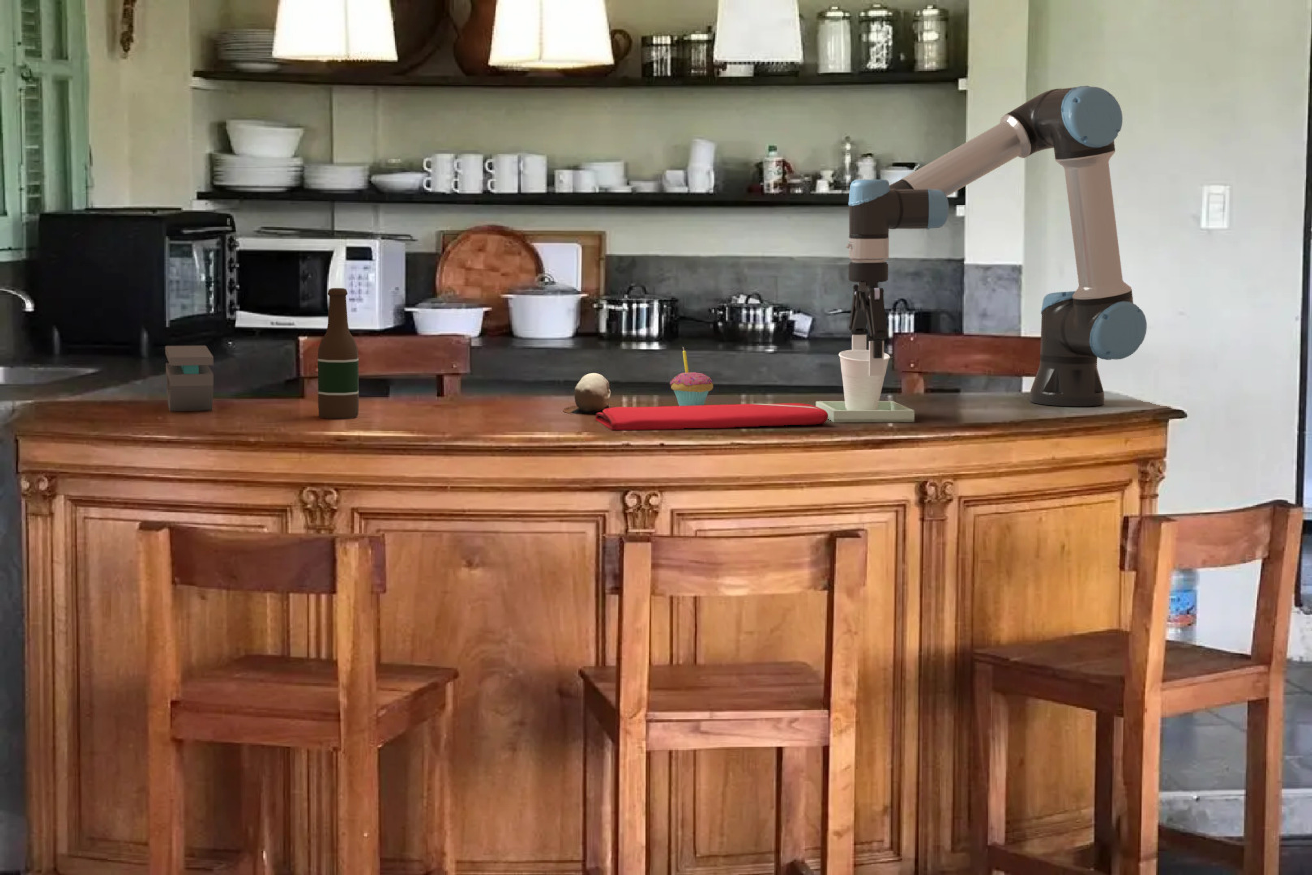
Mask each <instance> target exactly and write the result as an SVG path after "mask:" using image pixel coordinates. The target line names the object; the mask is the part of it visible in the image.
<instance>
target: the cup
mask: <svg viewBox="0 0 1312 875" xmlns="http://www.w3.org/2000/svg"><path fill="white" fill-rule="evenodd" d="M838 357H839V360H840V372H841V377H842V378H841V379H842V386H843V395H844V398H843V399H844V401H845V408H846V409H847V410H877V408H878V404H879V401H880V399H881V393H882V389H883V385H884V380H885V376H886V372H887V370H888V364H889V360H890V359H891V356H890V354H888V353H886V352H884V375H883V376H869V349H866V350H852V349H848V350H842V351H840V352H839V353H838Z"/></svg>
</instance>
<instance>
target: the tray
mask: <svg viewBox="0 0 1312 875" xmlns="http://www.w3.org/2000/svg"><path fill="white" fill-rule="evenodd" d="M815 406H816V407H819V408H821V409H824V410H825V411H826V412H827V413H828V418H827V420H828V419H829V420H828V421H830V420H831V421H830V422H832V423H915V409H912V408H909V407H907V406H906V405H904V404H901V403H898V402H895V400H883V401H882V400H879V404H878V408H877V410H847V409H846V408H845V400H844V401H843V400H839V401H837V400H836V401H835V400H831V401H830V400H829V401H827V400H826V401H825V400H824V401H821V400H817V401H815Z"/></svg>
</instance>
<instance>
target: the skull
mask: <svg viewBox="0 0 1312 875" xmlns="http://www.w3.org/2000/svg"><path fill="white" fill-rule="evenodd" d="M611 394H612V393H611V390H610V382H609V381H608V379H606V377H604V376H603V375H602V374H599V373H596V372H592V373H588V374H584V375H583V376H582V377H581V379H580V380H579V381H578V383H576V386H575V387H574V394H573V395H574V403H575V405H571V406H568V407H565V408H563V412H564V413H566V414H571V415H573V414H574V415H575V414H576V415H593V416H594V415H595V416H596V414H597V413H599V412H601V413H603V410H604V409H606V408H613V407H621V405H620V406H619V405H614V404H613V405H612V404H610V402H609V401H610V400H609V399H610V398H611Z"/></svg>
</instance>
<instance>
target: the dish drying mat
mask: <svg viewBox="0 0 1312 875" xmlns="http://www.w3.org/2000/svg"><path fill="white" fill-rule="evenodd" d="M827 418H828V413H827V412H826V411H825V410H824V409H821V408H819V407H816V405H813V404H810V403H809V404H808V403H802V402H801V403H800V402H798V403H797V402H790V403H789V402H786V403H785V402H784V403H781V402H780V403H742V404H740V403H739V404H708V405H707V404H706V405H705V404H704V405H699V406H679V405H666V406H665V405H662V406H661V405H660V406H620V407H613V408H606V409H604V410H603V413H601V412H599V413H597V414H596V415H595V421H596V422H599V423H601V424H602V425H603V426H605V427H606V428H608V429H610V431H647V430H648V431H649V430H650V431H651V430H657V431H658V430H685V429H684V428H710V429H733V428H734V429H735V427H739V428H760V427H759V426H769V427H788V426H787V425H802V426H817V424H818V425H823V424H825V423H826V422H827V420H828V419H827ZM784 425H786V426H784Z"/></svg>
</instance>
